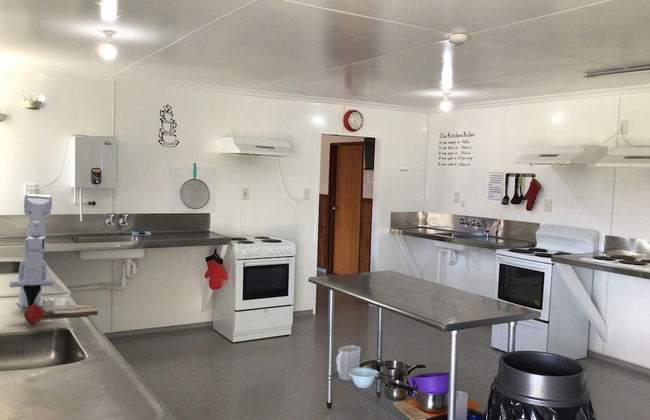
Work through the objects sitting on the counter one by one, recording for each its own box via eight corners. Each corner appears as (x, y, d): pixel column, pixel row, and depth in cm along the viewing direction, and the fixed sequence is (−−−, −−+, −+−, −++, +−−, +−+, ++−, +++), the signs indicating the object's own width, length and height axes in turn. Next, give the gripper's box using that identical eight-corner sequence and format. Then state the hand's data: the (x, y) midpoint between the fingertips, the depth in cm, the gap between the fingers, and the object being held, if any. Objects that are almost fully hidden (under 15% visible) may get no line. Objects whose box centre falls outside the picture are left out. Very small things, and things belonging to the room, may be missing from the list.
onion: (21, 326, 191) (23, 303, 190) (26, 322, 196) (27, 300, 196) (40, 327, 192) (42, 304, 192) (44, 323, 198) (45, 300, 198)
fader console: (30, 311, 212) (30, 307, 212) (87, 308, 225) (87, 304, 225) (38, 318, 203) (38, 314, 202) (97, 314, 216) (97, 310, 216)
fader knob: (41, 308, 211) (42, 297, 211) (50, 308, 213) (50, 297, 213) (45, 311, 207) (46, 300, 207) (53, 311, 209) (54, 300, 209)
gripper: (13, 271, 198) (10, 309, 198) (57, 270, 207) (54, 307, 208) (9, 268, 203) (6, 305, 204) (52, 267, 213) (49, 303, 213)
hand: (30, 306), depth 206 cm, fingers closed
